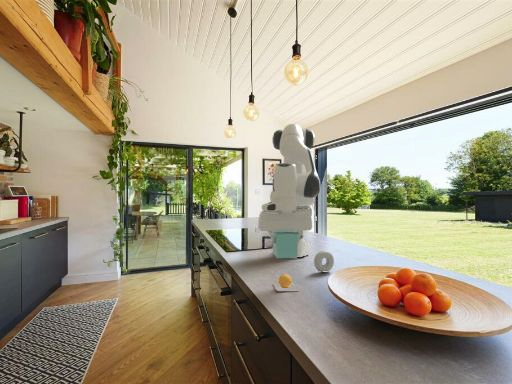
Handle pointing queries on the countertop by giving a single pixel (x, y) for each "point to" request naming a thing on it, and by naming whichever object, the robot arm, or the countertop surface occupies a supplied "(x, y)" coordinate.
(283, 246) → the teal cube
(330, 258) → the donut
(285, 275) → the ball
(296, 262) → the countertop surface
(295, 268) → the countertop surface
